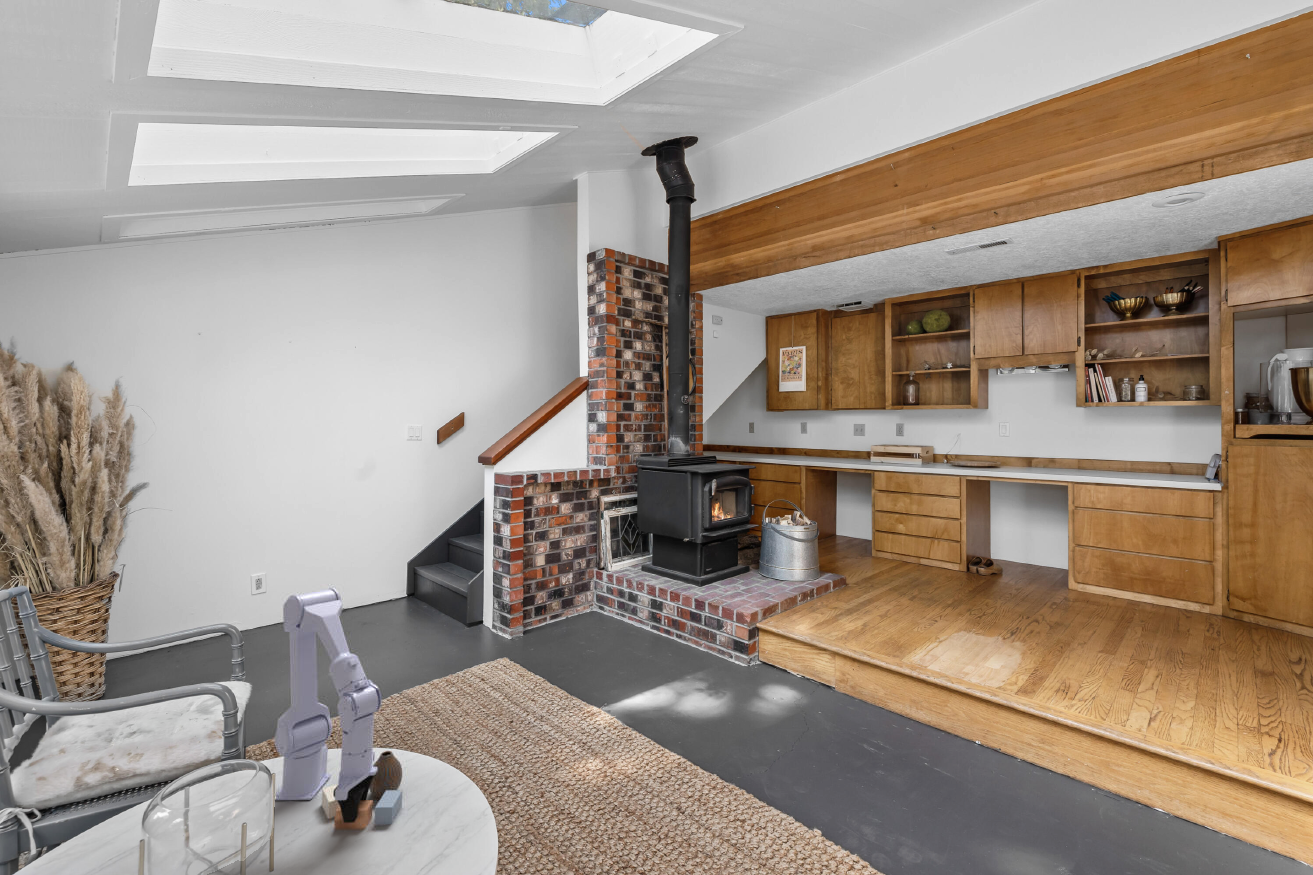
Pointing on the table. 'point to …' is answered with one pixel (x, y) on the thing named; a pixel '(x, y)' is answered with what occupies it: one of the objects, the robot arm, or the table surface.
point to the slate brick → (388, 807)
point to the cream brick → (329, 801)
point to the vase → (386, 774)
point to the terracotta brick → (362, 816)
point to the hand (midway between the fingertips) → (353, 815)
